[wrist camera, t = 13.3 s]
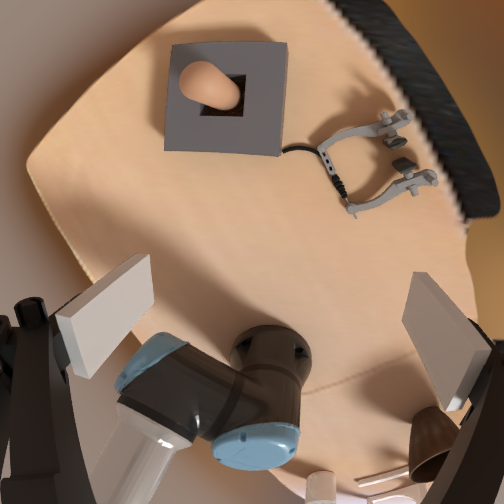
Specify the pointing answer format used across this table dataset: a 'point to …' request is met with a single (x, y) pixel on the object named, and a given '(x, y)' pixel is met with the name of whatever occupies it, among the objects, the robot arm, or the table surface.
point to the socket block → (255, 103)
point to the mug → (321, 488)
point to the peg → (211, 87)
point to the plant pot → (430, 444)
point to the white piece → (411, 492)
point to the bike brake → (402, 164)
